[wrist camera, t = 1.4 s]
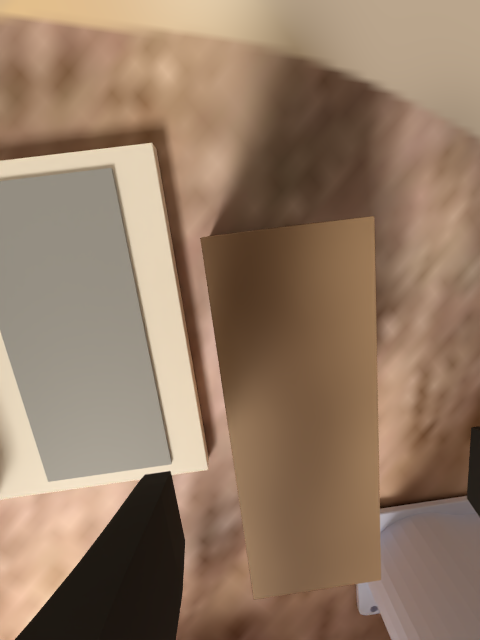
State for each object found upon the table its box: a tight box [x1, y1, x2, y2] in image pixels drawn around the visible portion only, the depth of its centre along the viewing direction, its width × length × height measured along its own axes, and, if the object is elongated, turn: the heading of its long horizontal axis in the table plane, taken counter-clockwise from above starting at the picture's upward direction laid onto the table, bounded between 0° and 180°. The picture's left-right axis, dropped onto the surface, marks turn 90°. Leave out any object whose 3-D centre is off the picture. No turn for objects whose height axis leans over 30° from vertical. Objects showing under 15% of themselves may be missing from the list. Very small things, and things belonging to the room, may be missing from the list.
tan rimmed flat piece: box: [0, 143, 209, 500], centre depth 15 cm, size 12×16×4 cm
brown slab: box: [200, 216, 381, 600], centre depth 14 cm, size 5×12×8 cm, turn 7°
